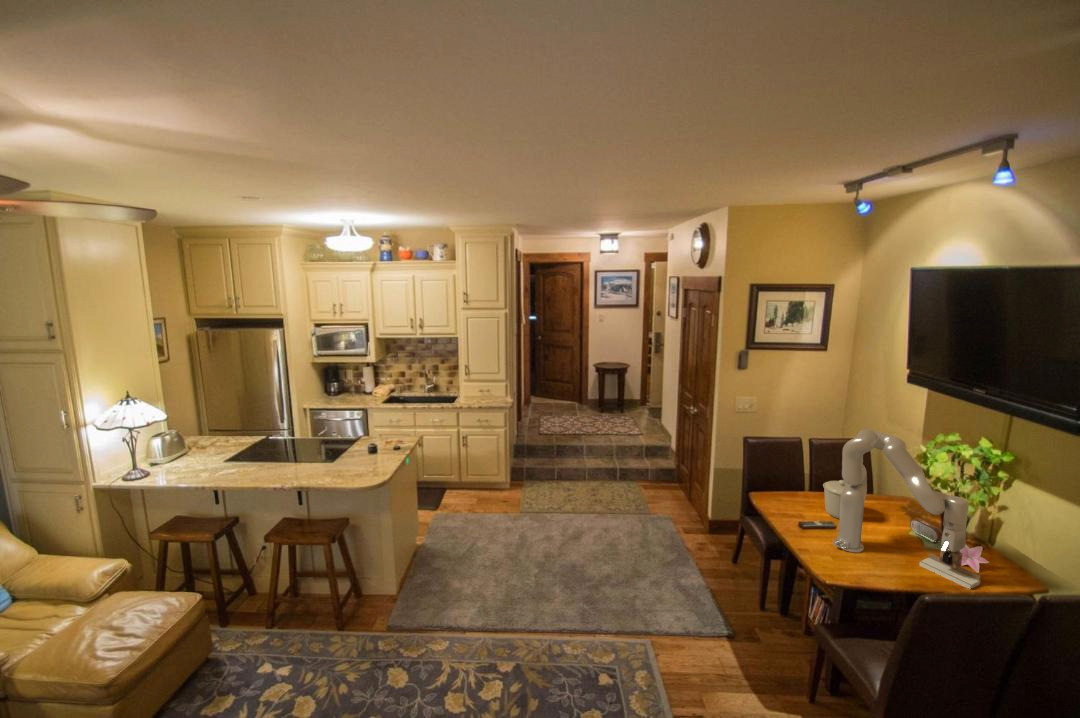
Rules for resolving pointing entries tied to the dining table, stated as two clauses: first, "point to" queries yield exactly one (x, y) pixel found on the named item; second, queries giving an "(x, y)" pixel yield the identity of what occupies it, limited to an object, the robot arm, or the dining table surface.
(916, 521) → the tin
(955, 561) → the crate
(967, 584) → the bar
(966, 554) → the lily
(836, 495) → the canister
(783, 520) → the dining table surface
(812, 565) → the dining table surface
